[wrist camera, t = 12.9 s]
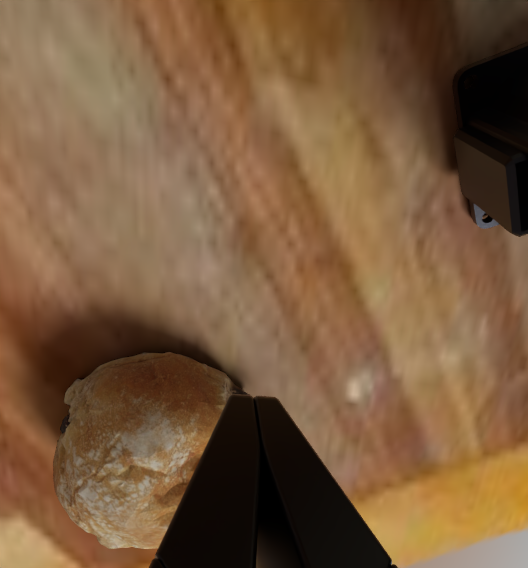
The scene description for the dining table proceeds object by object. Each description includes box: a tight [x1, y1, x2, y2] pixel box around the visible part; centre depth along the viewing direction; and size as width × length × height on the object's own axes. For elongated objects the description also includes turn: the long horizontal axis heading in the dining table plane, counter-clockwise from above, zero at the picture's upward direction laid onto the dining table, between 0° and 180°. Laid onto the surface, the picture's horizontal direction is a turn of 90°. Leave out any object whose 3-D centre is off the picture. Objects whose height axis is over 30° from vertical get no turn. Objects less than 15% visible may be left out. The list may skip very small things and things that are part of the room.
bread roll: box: [53, 352, 249, 549], centre depth 23 cm, size 10×10×8 cm
